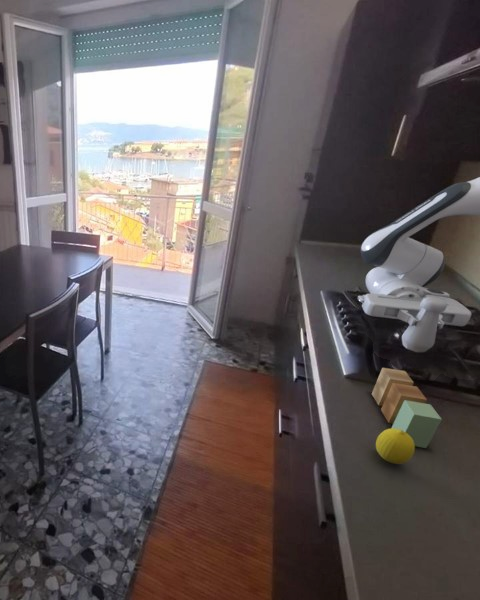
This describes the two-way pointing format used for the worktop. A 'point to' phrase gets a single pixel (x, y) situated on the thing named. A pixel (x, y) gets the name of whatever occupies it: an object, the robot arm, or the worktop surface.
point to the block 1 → (389, 383)
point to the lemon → (395, 446)
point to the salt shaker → (424, 325)
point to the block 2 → (400, 399)
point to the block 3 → (417, 422)
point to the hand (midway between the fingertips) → (427, 324)
